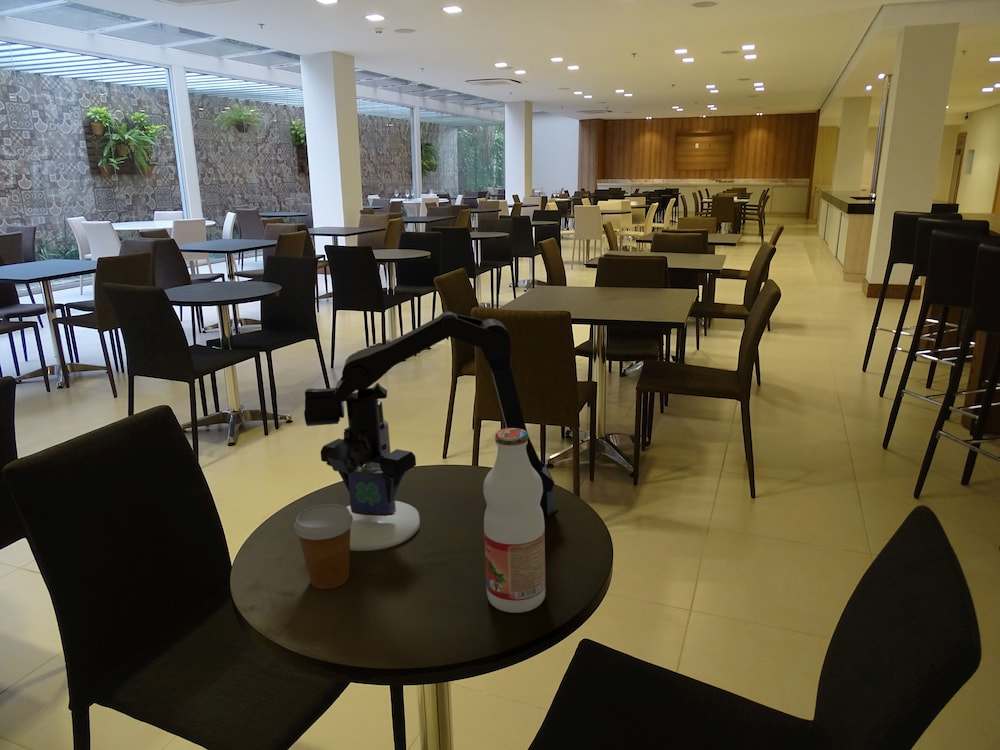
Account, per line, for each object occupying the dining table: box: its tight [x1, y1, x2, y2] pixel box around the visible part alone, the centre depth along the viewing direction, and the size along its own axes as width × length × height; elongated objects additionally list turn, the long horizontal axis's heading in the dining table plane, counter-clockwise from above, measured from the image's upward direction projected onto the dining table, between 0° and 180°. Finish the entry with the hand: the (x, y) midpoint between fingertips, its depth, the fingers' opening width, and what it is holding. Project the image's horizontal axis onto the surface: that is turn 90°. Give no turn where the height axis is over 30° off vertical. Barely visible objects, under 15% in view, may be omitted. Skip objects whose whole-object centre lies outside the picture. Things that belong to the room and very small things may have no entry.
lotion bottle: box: [372, 399, 391, 468], centre depth 153 cm, size 6×6×20 cm
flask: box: [348, 461, 396, 516], centre depth 136 cm, size 9×3×11 cm, turn 75°
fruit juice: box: [482, 427, 547, 614], centre depth 111 cm, size 9×9×28 cm
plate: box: [346, 500, 421, 552], centre depth 139 cm, size 18×18×2 cm
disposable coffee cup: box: [293, 503, 353, 590], centre depth 120 cm, size 10×10×12 cm
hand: (371, 497), depth 137 cm, fingers closed on flask, 9 cm apart
